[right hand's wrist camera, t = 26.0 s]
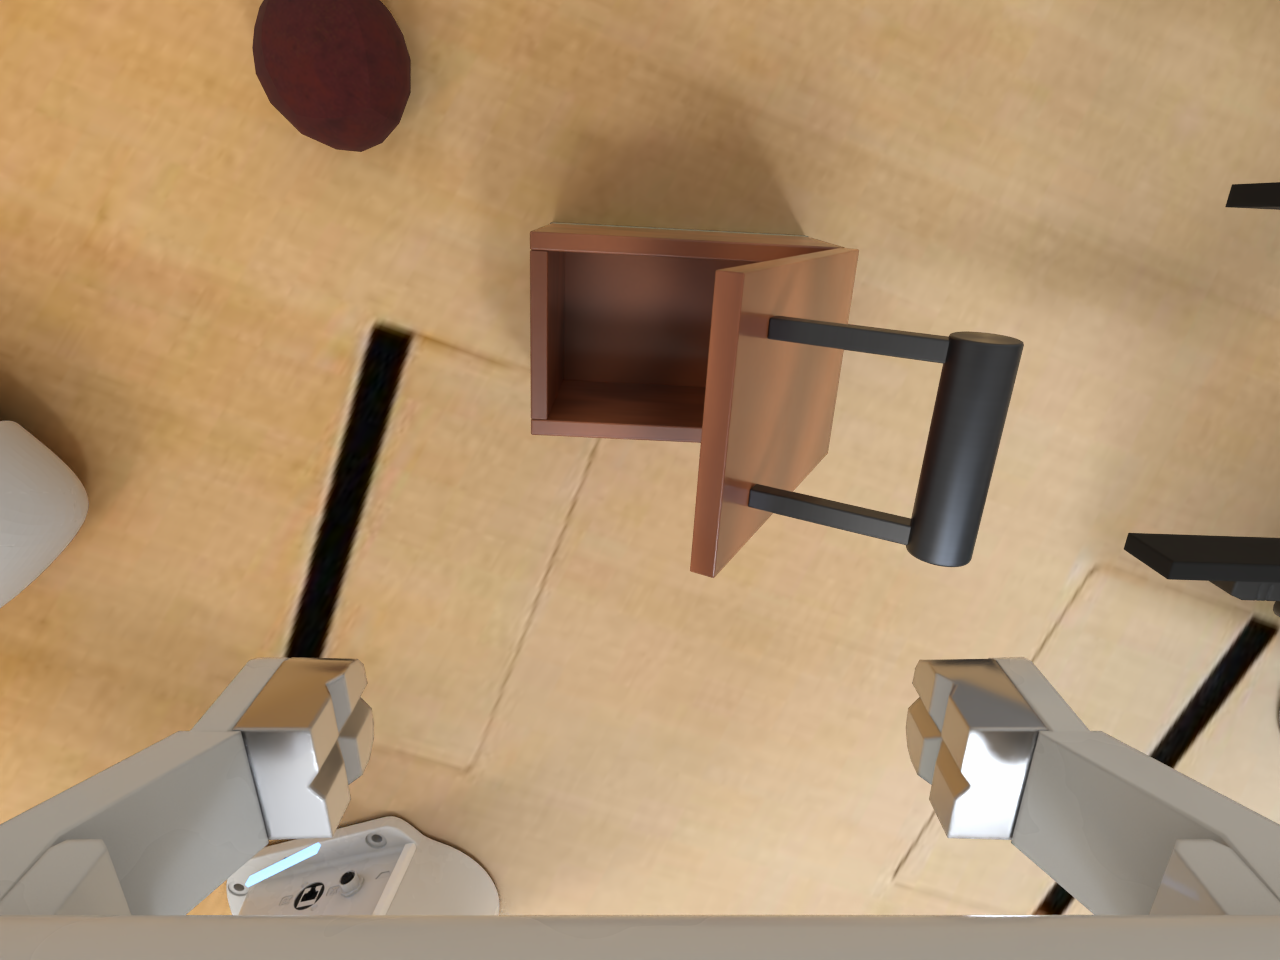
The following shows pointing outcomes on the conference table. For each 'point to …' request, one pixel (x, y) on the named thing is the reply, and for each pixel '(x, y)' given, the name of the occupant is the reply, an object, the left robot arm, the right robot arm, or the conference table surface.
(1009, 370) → the lid
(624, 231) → the chest
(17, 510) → the white rounded casing
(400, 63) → the potato
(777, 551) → the conference table surface
